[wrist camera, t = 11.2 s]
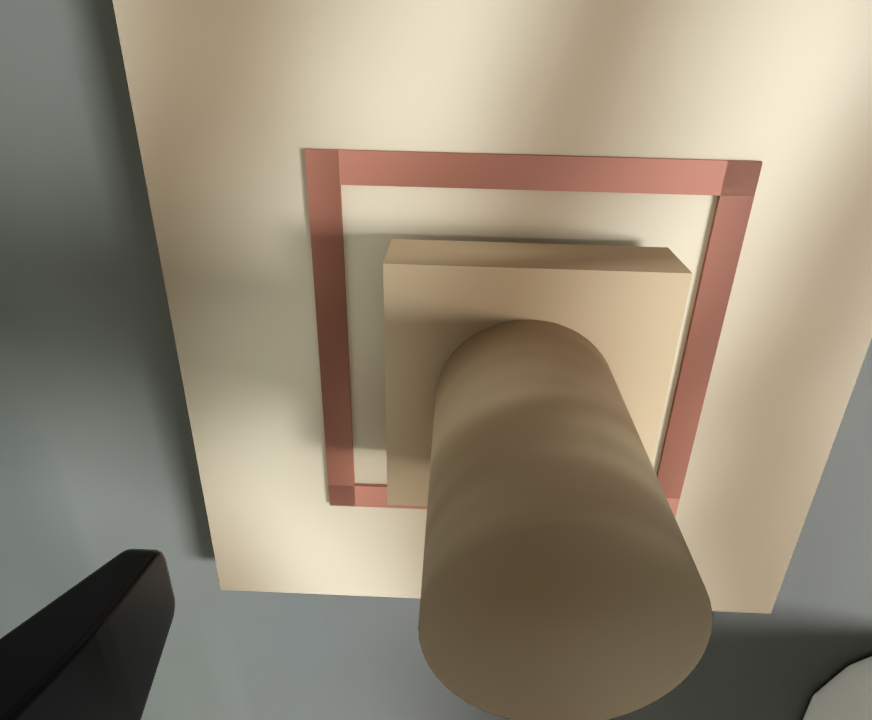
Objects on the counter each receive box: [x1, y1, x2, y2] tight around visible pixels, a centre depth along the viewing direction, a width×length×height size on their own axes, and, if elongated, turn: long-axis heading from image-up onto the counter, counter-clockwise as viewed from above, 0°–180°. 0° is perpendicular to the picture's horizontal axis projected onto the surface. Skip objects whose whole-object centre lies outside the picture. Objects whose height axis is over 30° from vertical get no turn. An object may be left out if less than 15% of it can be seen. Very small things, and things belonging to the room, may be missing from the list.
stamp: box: [383, 239, 713, 720], centre depth 10 cm, size 5×5×7 cm
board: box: [112, 0, 872, 614], centre depth 14 cm, size 14×14×1 cm
